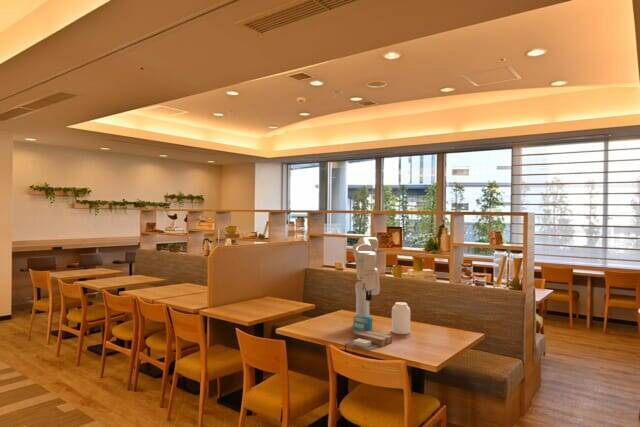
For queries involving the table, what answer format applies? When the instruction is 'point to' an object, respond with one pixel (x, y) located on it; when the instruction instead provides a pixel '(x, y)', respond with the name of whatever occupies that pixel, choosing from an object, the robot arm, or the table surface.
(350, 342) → the mat
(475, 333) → the table surface
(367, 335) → the block
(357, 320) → the data package
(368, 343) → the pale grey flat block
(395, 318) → the can
